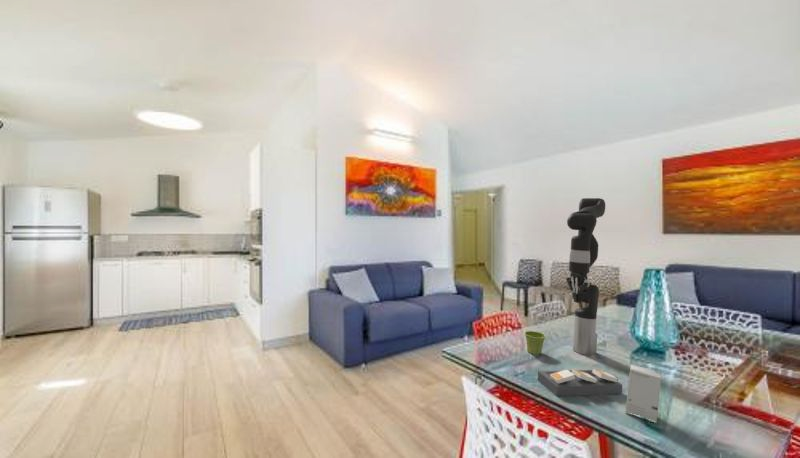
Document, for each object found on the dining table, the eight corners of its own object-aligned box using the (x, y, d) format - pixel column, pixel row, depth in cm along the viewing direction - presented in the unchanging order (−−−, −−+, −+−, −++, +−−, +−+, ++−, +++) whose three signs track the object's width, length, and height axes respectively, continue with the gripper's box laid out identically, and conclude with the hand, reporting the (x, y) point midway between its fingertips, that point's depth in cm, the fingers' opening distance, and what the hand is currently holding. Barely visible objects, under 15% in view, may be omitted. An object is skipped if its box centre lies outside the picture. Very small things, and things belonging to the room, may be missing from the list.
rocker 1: (567, 372, 123) (566, 369, 123) (575, 378, 118) (574, 374, 118) (550, 378, 122) (549, 374, 122) (557, 383, 117) (557, 379, 117)
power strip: (610, 378, 132) (611, 367, 132) (636, 393, 121) (637, 381, 120) (537, 379, 128) (538, 368, 128) (556, 396, 116) (557, 383, 116)
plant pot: (547, 357, 151) (548, 338, 151) (525, 354, 153) (526, 336, 153) (542, 349, 160) (543, 332, 160) (522, 347, 162) (523, 330, 162)
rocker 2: (587, 377, 124) (588, 373, 124) (595, 383, 120) (597, 379, 120) (571, 372, 123) (572, 368, 123) (579, 378, 119) (580, 374, 119)
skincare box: (625, 414, 107) (628, 368, 106) (627, 406, 111) (630, 363, 111) (658, 425, 101) (661, 377, 101) (659, 416, 106) (661, 371, 106)
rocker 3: (607, 376, 125) (608, 372, 125) (616, 382, 121) (617, 378, 121) (591, 372, 124) (593, 368, 124) (600, 377, 120) (601, 373, 120)
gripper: (599, 263, 131) (597, 306, 131) (577, 259, 144) (574, 298, 144) (582, 262, 130) (580, 306, 130) (561, 259, 143) (559, 298, 143)
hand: (577, 302), depth 137 cm, fingers closed
